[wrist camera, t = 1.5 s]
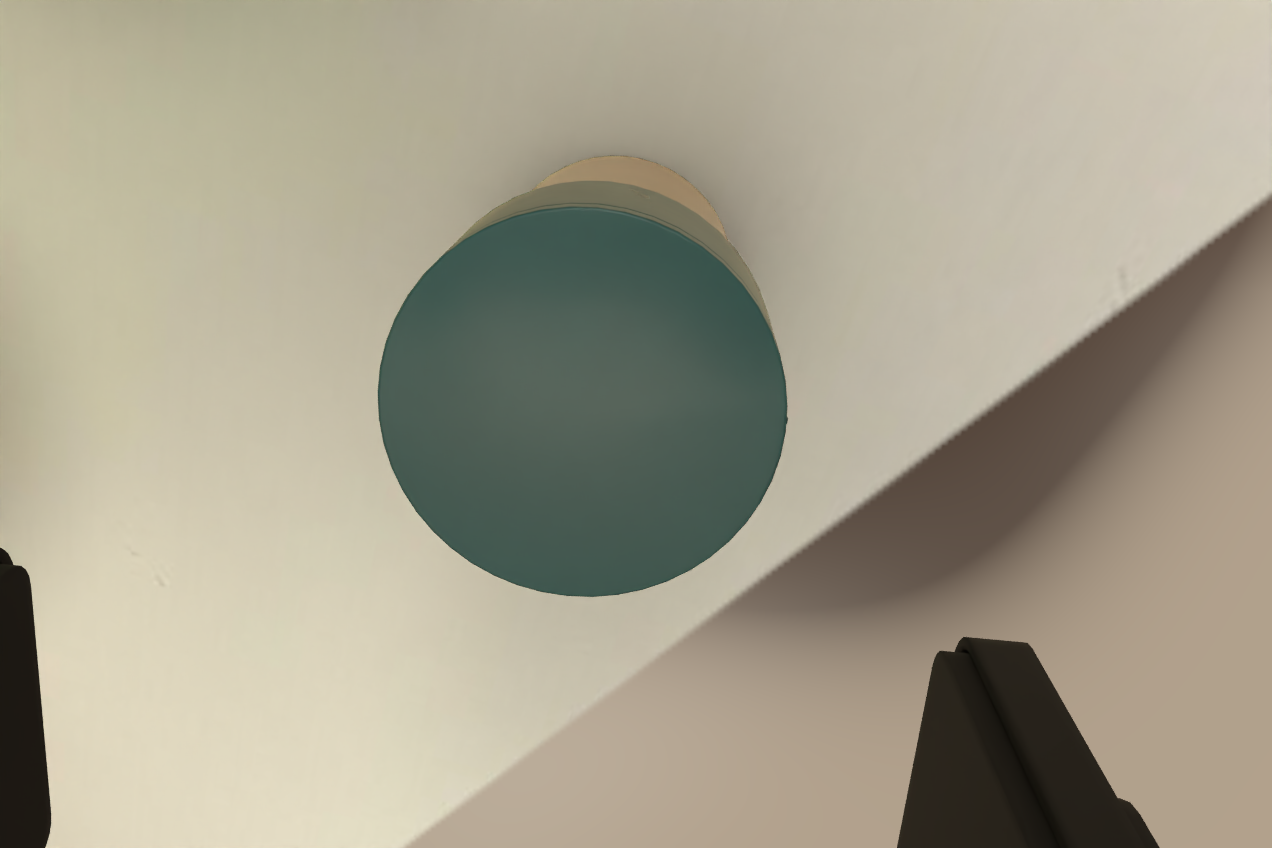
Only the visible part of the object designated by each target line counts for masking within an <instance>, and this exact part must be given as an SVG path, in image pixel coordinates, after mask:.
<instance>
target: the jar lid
mask: <svg viewBox="0 0 1272 848" xmlns="http://www.w3.org/2000/svg"><path fill="white" fill-rule="evenodd" d="M378 409H379V421H380V427H381V432H382V437H383V443H384V446H385V449H386V452H387V455H388V458H389V461H390V464H391V467H392V469H393V471H394V473H395V476H396V478H397V480H398V482H399V484H400V486H401V488H402V490H403V492H404V493H405V495H406V496H407V498H408V499H409V501H410V502H411V504H412V506H413V507H414V509H415V510H416V512H417V513H418V514H419V515H420V516H421V518H422V519H423V520H424V521H425V522H426V524H427V525H428V526H429V527H430V528H431V530H432V531H433V532H434V533H435V534H437V535H438V536H439V537H440V538H441V539H442V540H443V541H444V542H445V543H446V544H447V545H448V546H449V547H451V548H452V549H453V550H454V551H456V552H457V553H459V554H460V555H461V556H463V557H464V558H465V559H467V560H468V561H470V562H471V563H473V564H474V565H476V566H478V567H480V568H482V569H483V570H485V571H487V572H489V573H491V574H492V575H494V576H497V577H499V578H501V579H504V580H506V581H509V582H511V583H514V584H516V585H519V586H522V587H526V588H530V589H533V590H537V591H540V592H546V593H552V594H558V595H565V596H585V597H596V596H608V595H619V594H624V593H629V592H633V591H638V590H643V589H646V588H649V587H652V586H655V585H658V584H661V583H664V582H667V581H669V580H671V579H673V578H675V577H677V576H679V575H681V574H683V573H685V572H688V571H689V570H691V569H693V568H694V567H696V566H697V565H699V564H700V563H702V562H704V561H705V560H707V559H708V558H710V557H711V556H712V555H713V554H715V553H716V552H717V551H718V550H719V549H721V548H722V547H723V546H724V545H725V544H727V543H728V542H729V541H730V540H731V539H732V538H733V537H734V536H735V534H736V533H737V532H738V531H739V530H740V529H741V528H742V527H743V526H744V525H745V524H746V522H747V521H748V520H749V518H750V517H751V515H752V514H753V512H754V511H755V510H756V508H757V507H758V505H759V504H760V502H761V501H762V499H763V497H764V495H765V493H766V491H767V489H768V487H769V485H770V483H771V481H772V479H773V476H774V473H775V470H776V468H777V465H778V462H779V459H780V456H781V452H782V447H783V442H784V437H785V432H786V424H787V421H788V418H787V394H786V380H785V376H784V371H783V366H782V361H781V357H780V353H779V350H778V346H777V343H776V339H775V336H774V333H773V329H772V326H771V323H770V320H769V316H768V313H767V310H766V307H765V304H764V301H763V298H762V296H761V293H760V290H759V288H758V286H757V284H756V282H755V280H754V278H753V276H752V274H751V272H750V270H749V268H748V267H747V265H746V264H745V262H744V261H743V260H742V258H741V257H740V255H739V254H738V252H737V251H736V250H735V248H734V247H733V246H732V245H731V244H730V243H729V242H728V241H727V240H726V238H725V237H724V236H723V235H722V234H721V233H720V232H719V231H718V230H717V229H716V228H715V227H713V226H712V225H711V224H710V223H708V222H707V221H706V220H705V219H704V218H702V217H701V216H700V215H699V214H697V213H695V212H694V211H692V210H690V209H689V208H687V207H686V206H684V205H682V204H681V203H679V202H677V201H675V200H673V199H671V198H668V197H666V196H664V195H662V194H660V193H657V192H654V191H651V190H648V189H644V188H641V187H638V186H635V185H630V184H623V183H617V182H611V181H586V180H584V181H574V182H565V183H558V184H554V185H550V186H546V187H542V188H538V189H535V190H532V191H530V192H527V193H525V194H522V195H519V196H517V197H514V198H513V199H511V200H509V201H507V202H505V203H504V204H502V205H500V206H498V207H496V208H495V209H493V210H492V211H490V212H489V213H488V214H486V215H485V216H484V217H482V218H481V219H480V220H478V221H477V222H476V223H475V224H474V225H473V226H472V227H471V228H470V229H469V230H468V231H467V232H466V233H465V234H464V235H463V236H462V237H461V238H460V239H459V240H458V241H457V242H456V243H455V244H454V245H453V246H452V247H450V248H449V249H448V250H447V251H446V252H445V253H444V254H443V255H442V256H441V257H440V258H439V259H438V260H437V261H436V262H435V263H434V264H433V265H432V266H431V267H430V268H429V269H428V270H427V271H426V272H425V273H424V274H423V276H422V277H421V278H420V280H419V281H418V282H417V284H416V285H415V286H414V288H413V289H412V290H411V292H410V293H409V294H408V296H407V297H406V299H405V301H404V303H403V305H402V306H401V308H400V310H399V312H398V314H397V315H396V317H395V319H394V322H393V325H392V327H391V330H390V332H389V335H388V338H387V340H386V343H385V348H384V352H383V356H382V361H381V365H380V372H379V384H378Z"/></svg>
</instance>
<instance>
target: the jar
mask: <svg viewBox="0 0 1272 848" xmlns="http://www.w3.org/2000/svg"><path fill="white" fill-rule="evenodd" d="M584 180H586V181H611V182H617V183H623V184H630V185H635V186H638V187H641V188H644V189H648V190H651V191H654V192H657V193H660V194H662V195H664V196H666V197H668V198H671V199H673V200H675V201H677V202H679V203H681V204H682V205H684V206H686V207H687V208H689V209H690V210H692V211H694V212H695V213H697V214H699V215H700V216H701V217H702V218H704V219H705V220H706V221H707V222H708V223H710V224H711V225H712V226H713V227H715V228H716V229H717V230H718V231H719V232H720V233H721V234H722V235H723V236H724V237H725V238H726V240H727V241H728V239H727V236H726V233H725V230H724V228H723V225H722V223H721V221H720V219H719V218H718V216H717V214H716V212H715V210H714V209H713V208H712V206H711V205H710V203H709V202H708V201H707V199H706V198H705V197H704V196H703V195H702V194H701V193H700V192H699V191H698V189H697V188H696V187H694V186H693V185H692V184H691V183H690V182H688V181H687V180H686V179H685V178H683V177H682V176H680V175H679V174H677V173H675V172H674V171H672V170H670V169H668V168H666V167H664V166H662V165H659V164H657V163H654V162H651V161H648V160H644V159H641V158H635V157H628V156H602V157H594V158H590V159H586V160H582V161H578V162H576V163H573V164H571V165H568V166H566V167H564V168H562V169H560V170H558V171H556V172H555V173H553V174H551V175H550V176H548V177H547V178H546V179H544V180H543V181H542V182H541V183H539V184H538V185H537V186H536V187H535V188H534V189H533V190H535V189H538V188H542V187H546V186H550V185H554V184H558V183H565V182H574V181H584Z"/></svg>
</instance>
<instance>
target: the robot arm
mask: <svg viewBox="0 0 1272 848" xmlns="http://www.w3.org/2000/svg"><path fill="white" fill-rule="evenodd" d="M50 827H51V807H50V796H49V785H48V773H47V762H46V751H45V739H44V728H43V717H42V705H41V694H40V683H39V672H38V660H37V649H36V638H35V626H34V615H33V604H32V593H31V583H30V578H29V575H28V573H27V571H26V569H24V568H23V567H22V566H16V565H13V562H12V560H11V558H10V556H9V554H8V553H7V552H6V551H5V550H3V549H2V548H0V848H45V847H46V844H47V841H48V837H49V834H50ZM897 848H1159V846H1158V844H1157V843H1156V841H1155V839H1154V838H1153V836H1152V834H1151V833H1150V831H1149V829H1148V828H1147V826H1146V824H1145V822H1144V821H1143V819H1142V817H1141V815H1140V814H1139V813H1138V811H1137V810H1136V809H1135V808H1134V807H1133V805H1132V804H1131V803H1130V802H1128V801H1125V800H1123V799H1120V798H1117V796H1116V795H1115V793H1114V791H1113V789H1112V788H1111V786H1110V784H1109V783H1108V781H1107V779H1106V777H1105V775H1104V774H1103V772H1102V770H1101V768H1100V767H1099V765H1098V764H1097V761H1096V760H1095V758H1094V756H1093V754H1092V753H1091V751H1090V749H1089V747H1088V745H1087V744H1086V742H1085V740H1084V738H1083V737H1082V735H1081V733H1080V731H1079V730H1078V728H1077V726H1076V724H1075V723H1074V721H1073V719H1072V717H1071V716H1070V714H1069V712H1068V710H1067V709H1066V707H1065V705H1064V703H1063V702H1062V700H1061V698H1060V696H1059V695H1058V693H1057V691H1056V689H1055V688H1054V686H1053V684H1052V682H1051V681H1050V679H1049V677H1048V675H1047V673H1046V672H1045V670H1044V668H1043V666H1042V665H1041V663H1040V661H1039V659H1038V658H1037V656H1036V654H1035V652H1034V651H1033V649H1032V648H1031V646H1030V645H1029V644H1028V643H1023V642H1012V641H1001V640H990V639H980V638H969V637H963V638H962V639H961V640H960V641H959V643H958V645H957V647H956V650H955V652H947V651H939V653H937V655H936V657H935V659H934V663H933V667H932V672H931V676H930V681H929V686H928V692H927V697H926V702H925V707H924V712H923V717H922V722H921V727H920V733H919V738H918V743H917V748H916V753H915V758H914V763H913V769H912V774H911V779H910V784H909V789H908V794H907V800H906V804H905V809H904V815H903V820H902V825H901V830H900V835H899V840H898V845H897Z"/></svg>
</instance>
